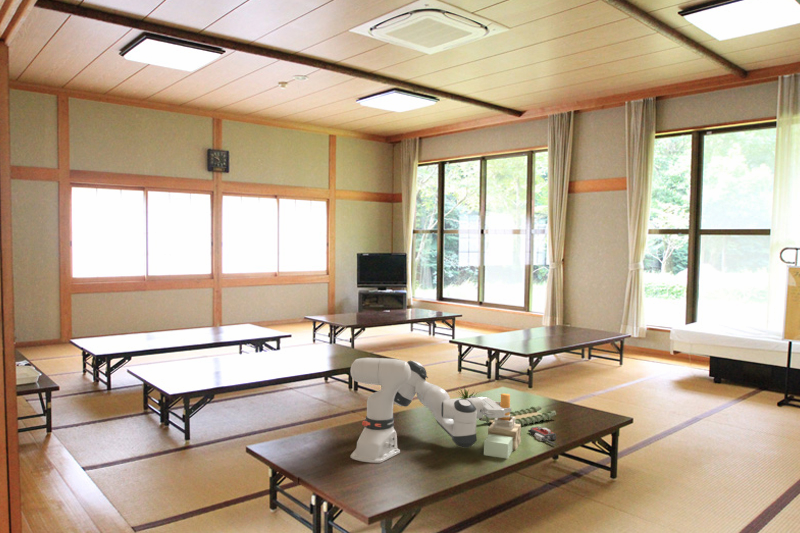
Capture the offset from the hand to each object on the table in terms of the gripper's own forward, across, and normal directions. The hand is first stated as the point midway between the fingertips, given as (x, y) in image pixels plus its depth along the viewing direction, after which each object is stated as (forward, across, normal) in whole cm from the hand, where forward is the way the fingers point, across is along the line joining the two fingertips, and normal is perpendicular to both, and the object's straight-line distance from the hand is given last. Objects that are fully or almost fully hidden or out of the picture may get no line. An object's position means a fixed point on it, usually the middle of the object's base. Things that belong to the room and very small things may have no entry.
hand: (506, 406), depth 248 cm
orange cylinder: (-1, 0, +8) cm, 8 cm away
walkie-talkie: (+21, +4, +17) cm, 27 cm away
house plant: (-7, +40, +17) cm, 44 cm away
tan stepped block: (-1, 0, +16) cm, 17 cm away
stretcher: (+18, +30, +17) cm, 39 cm away
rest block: (-7, -10, +16) cm, 21 cm away
